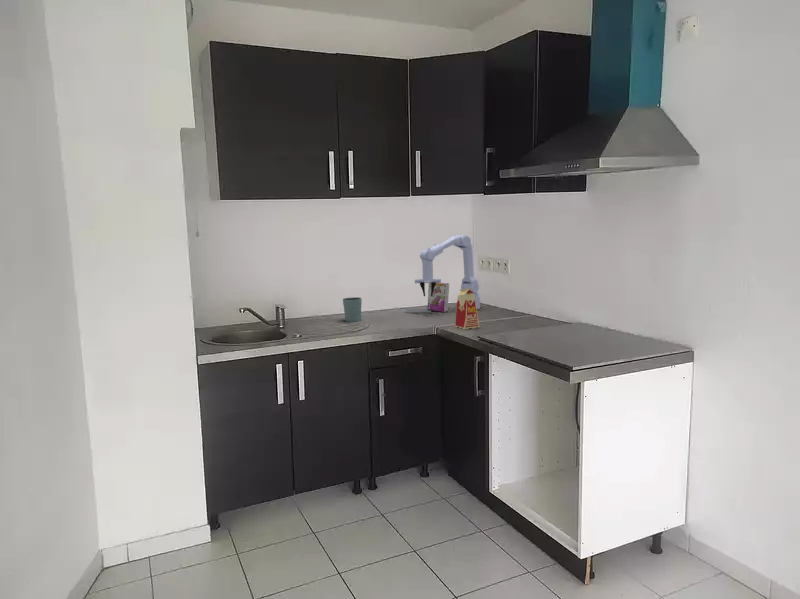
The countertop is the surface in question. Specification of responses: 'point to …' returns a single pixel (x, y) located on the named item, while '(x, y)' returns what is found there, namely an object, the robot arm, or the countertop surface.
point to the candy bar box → (438, 297)
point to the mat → (417, 311)
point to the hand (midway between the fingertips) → (428, 295)
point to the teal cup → (352, 309)
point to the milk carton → (466, 310)
